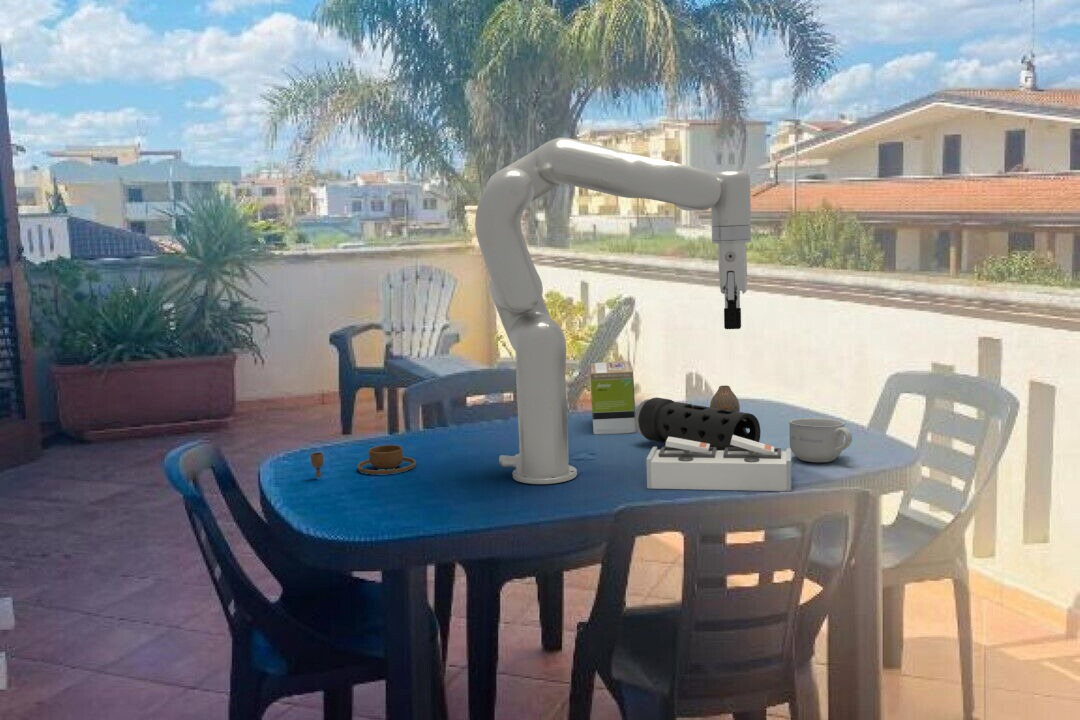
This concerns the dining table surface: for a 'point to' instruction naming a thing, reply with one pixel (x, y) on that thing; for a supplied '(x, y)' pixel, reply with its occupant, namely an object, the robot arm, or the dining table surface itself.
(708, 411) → the muzzle brake
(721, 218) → the robot arm
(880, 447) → the dining table surface
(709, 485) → the white switch block
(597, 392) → the tea box
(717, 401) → the vase
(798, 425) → the teacup
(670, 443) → the outlet rocker
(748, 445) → the outlet rocker
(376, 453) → the place setting
